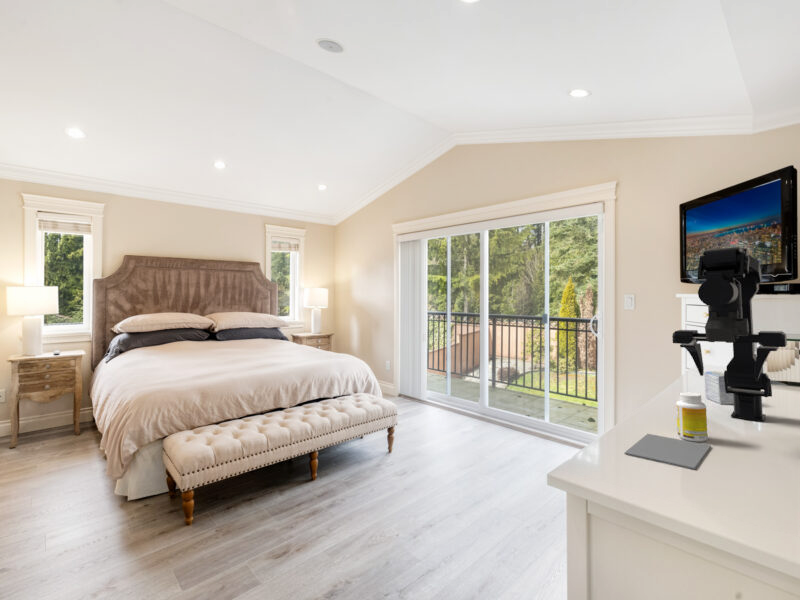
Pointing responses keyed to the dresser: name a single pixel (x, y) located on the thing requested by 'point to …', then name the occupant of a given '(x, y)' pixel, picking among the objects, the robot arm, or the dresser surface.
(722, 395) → the medicine box
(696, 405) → the supplement bottle
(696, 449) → the mat
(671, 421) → the dresser surface
